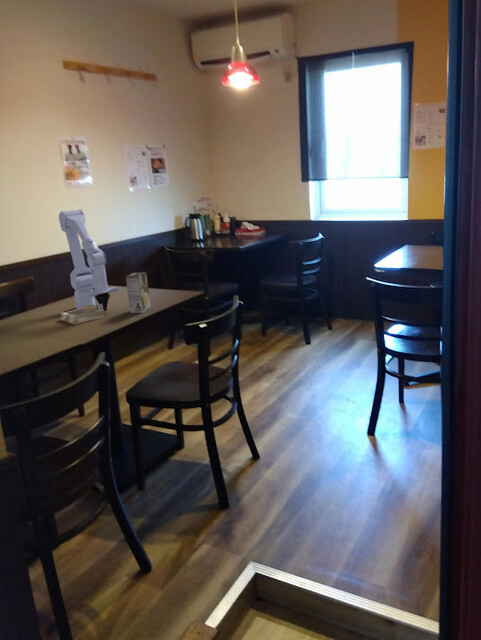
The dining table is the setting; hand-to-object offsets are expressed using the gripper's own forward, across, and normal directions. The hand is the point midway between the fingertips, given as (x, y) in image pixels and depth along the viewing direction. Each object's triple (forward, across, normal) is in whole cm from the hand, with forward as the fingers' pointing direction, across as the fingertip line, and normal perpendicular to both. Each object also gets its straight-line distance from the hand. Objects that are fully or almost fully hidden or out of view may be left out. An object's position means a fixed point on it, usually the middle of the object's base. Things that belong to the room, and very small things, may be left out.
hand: (104, 310), depth 243 cm
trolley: (+1, -6, 0) cm, 6 cm away
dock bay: (+1, -9, 0) cm, 9 cm away
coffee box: (+1, +12, -10) cm, 16 cm away
